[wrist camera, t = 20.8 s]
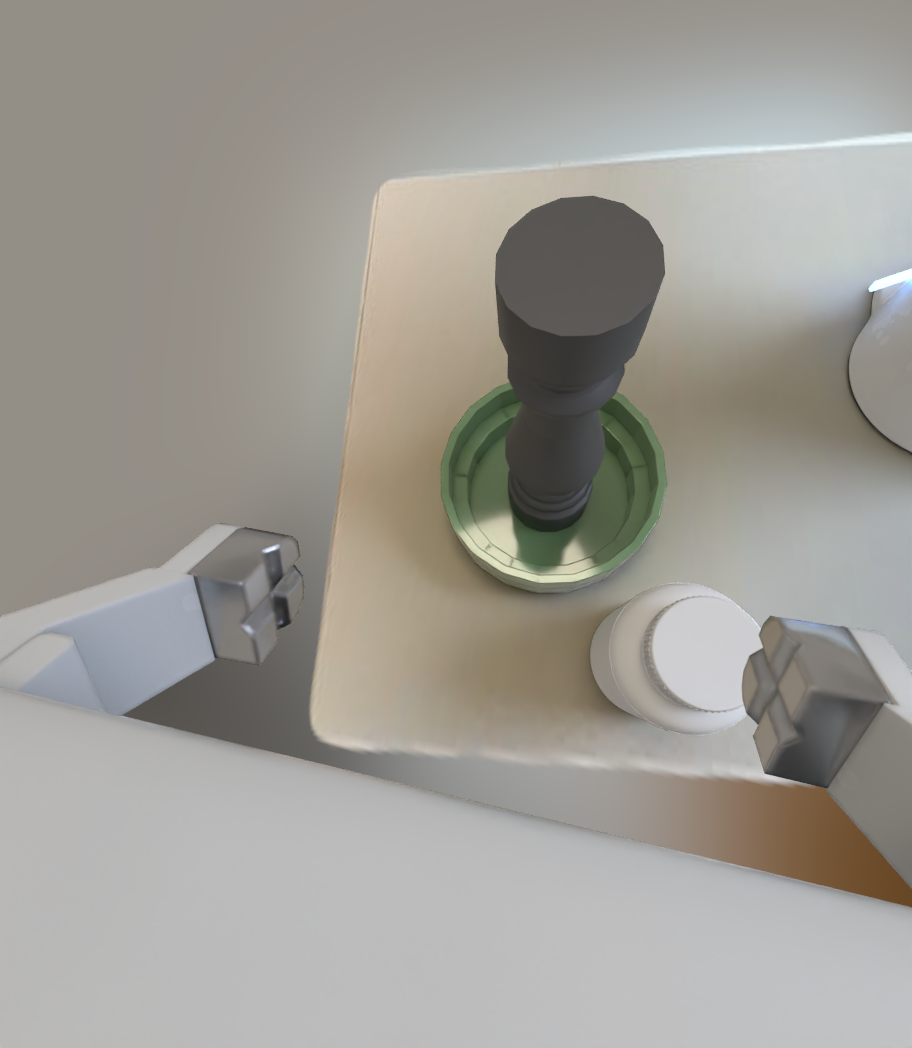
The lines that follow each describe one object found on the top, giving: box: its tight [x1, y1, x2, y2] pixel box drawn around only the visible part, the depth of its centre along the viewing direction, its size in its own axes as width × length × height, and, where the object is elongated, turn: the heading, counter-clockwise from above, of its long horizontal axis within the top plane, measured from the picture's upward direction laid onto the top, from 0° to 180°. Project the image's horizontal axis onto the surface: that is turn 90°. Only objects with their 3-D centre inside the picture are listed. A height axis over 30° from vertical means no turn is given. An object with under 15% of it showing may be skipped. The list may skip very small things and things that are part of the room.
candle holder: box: [495, 196, 665, 532], centre depth 30 cm, size 6×6×25 cm
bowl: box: [441, 383, 667, 593], centre depth 40 cm, size 16×16×6 cm
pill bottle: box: [590, 582, 763, 736], centre depth 31 cm, size 8×8×15 cm
